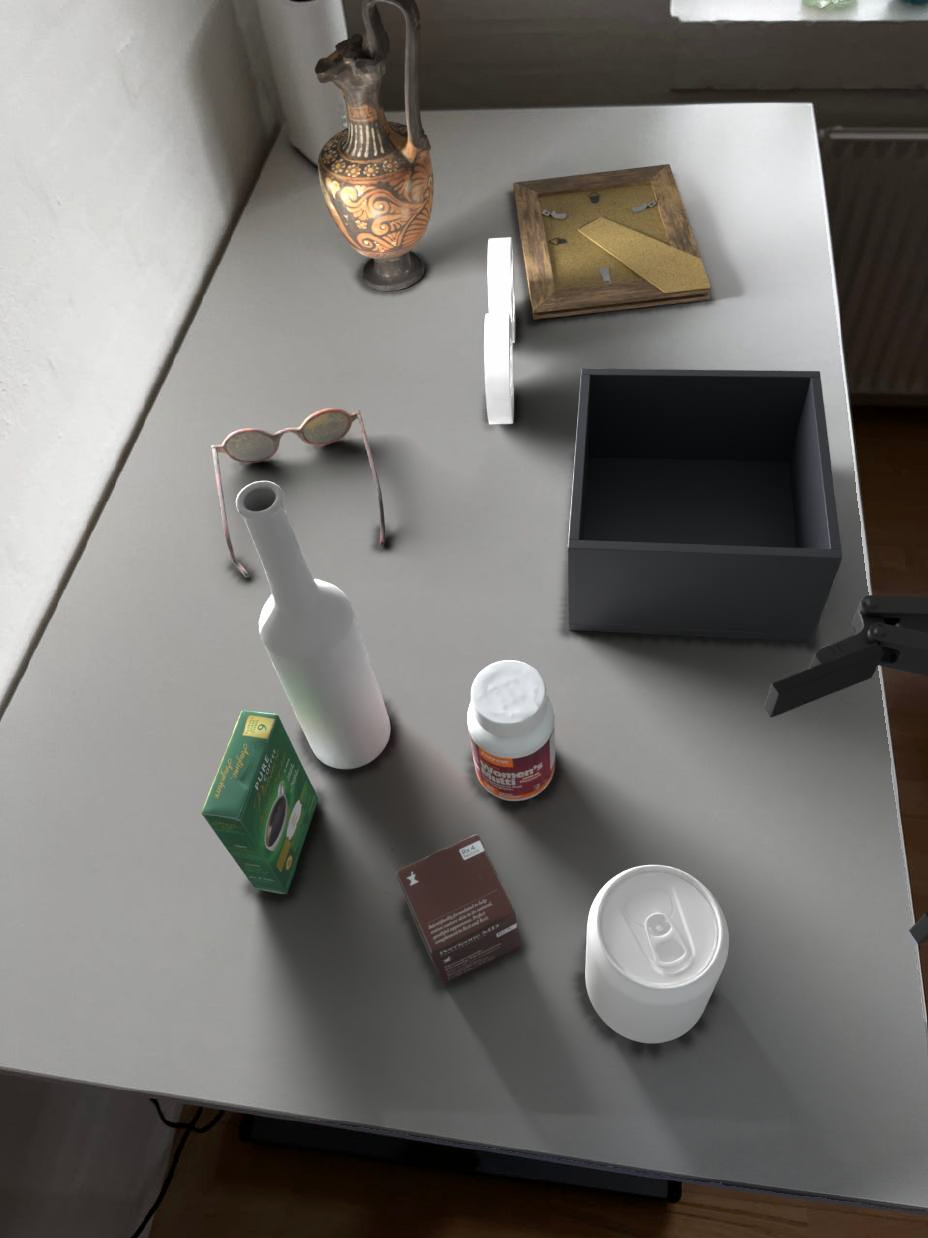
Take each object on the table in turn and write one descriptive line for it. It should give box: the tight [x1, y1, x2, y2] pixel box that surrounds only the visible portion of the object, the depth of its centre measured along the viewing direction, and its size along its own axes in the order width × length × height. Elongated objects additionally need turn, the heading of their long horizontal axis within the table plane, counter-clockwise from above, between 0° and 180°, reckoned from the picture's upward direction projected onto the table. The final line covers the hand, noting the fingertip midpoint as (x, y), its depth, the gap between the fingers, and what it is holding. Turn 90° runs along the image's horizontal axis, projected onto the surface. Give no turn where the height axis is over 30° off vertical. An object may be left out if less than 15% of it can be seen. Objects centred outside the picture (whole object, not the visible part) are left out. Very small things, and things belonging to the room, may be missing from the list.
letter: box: [483, 237, 516, 425], centre depth 97 cm, size 22×2×10 cm, turn 178°
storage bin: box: [567, 367, 844, 643], centre depth 82 cm, size 20×20×11 cm
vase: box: [314, 0, 435, 292], centre depth 99 cm, size 12×12×30 cm
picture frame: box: [512, 163, 712, 320], centre depth 110 cm, size 19×2×24 cm
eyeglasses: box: [210, 407, 386, 579], centre depth 91 cm, size 15×15×5 cm
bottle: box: [235, 480, 392, 770], centre depth 67 cm, size 7×7×28 cm
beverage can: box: [584, 864, 730, 1044], centre depth 61 cm, size 8×8×12 cm
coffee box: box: [200, 709, 319, 895], centre depth 68 cm, size 8×3×13 cm, turn 168°
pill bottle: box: [466, 659, 556, 802], centre depth 71 cm, size 6×6×11 cm
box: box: [395, 833, 521, 984], centre depth 66 cm, size 6×6×7 cm
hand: (839, 807), depth 51 cm, fingers open, 13 cm apart
